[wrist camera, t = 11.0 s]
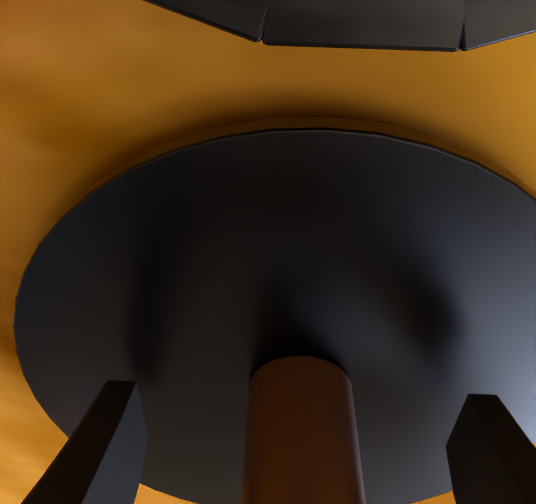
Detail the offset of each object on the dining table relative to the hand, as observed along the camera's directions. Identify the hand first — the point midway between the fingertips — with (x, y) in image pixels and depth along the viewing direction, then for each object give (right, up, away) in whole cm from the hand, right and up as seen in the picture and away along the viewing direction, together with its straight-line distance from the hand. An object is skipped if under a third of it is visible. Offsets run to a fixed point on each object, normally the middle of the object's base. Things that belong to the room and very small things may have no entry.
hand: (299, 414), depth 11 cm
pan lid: (0, +1, +1) cm, 1 cm away
